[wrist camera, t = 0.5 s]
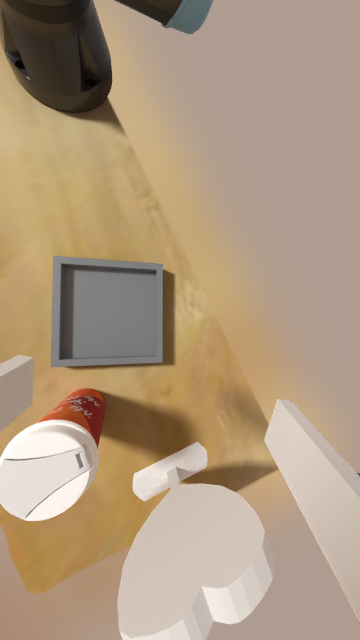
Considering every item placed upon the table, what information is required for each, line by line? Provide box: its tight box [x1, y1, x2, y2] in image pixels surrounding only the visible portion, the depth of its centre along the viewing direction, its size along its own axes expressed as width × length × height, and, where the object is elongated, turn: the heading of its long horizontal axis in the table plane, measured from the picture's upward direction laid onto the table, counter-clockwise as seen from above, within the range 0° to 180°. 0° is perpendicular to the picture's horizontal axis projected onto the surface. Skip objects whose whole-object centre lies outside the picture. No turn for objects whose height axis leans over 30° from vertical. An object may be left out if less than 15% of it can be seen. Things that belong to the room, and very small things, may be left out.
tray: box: [51, 256, 163, 367], centre depth 32 cm, size 16×16×2 cm
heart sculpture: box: [117, 442, 275, 640], centre depth 26 cm, size 16×5×18 cm, turn 109°
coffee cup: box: [0, 389, 105, 521], centre depth 24 cm, size 8×8×15 cm
